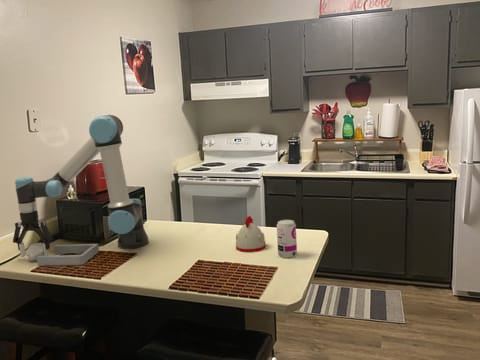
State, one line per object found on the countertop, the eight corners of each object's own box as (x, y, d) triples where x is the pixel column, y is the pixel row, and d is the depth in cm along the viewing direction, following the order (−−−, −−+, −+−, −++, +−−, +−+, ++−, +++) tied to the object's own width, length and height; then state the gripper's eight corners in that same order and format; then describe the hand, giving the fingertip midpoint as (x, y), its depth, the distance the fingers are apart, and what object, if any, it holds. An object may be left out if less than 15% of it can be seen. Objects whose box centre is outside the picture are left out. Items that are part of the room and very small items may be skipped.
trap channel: (99, 251, 216) (98, 243, 215) (83, 264, 199) (82, 256, 198) (56, 252, 218) (55, 245, 217) (37, 265, 201) (36, 257, 201)
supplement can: (299, 253, 196) (298, 219, 194) (293, 259, 189) (292, 225, 186) (281, 251, 200) (280, 218, 197) (275, 257, 192) (273, 224, 190)
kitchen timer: (231, 251, 204) (229, 219, 202) (242, 242, 217) (240, 212, 214) (260, 253, 199) (258, 220, 196) (269, 243, 211) (268, 213, 209)
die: (34, 265, 204) (45, 246, 206) (18, 256, 205) (30, 237, 206) (42, 265, 212) (53, 247, 214) (27, 256, 213) (38, 238, 215)
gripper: (56, 208, 209) (62, 252, 213) (9, 209, 211) (16, 254, 215) (48, 212, 201) (54, 258, 205) (-1, 213, 204) (7, 259, 208)
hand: (35, 256), depth 210 cm, fingers open, 11 cm apart
